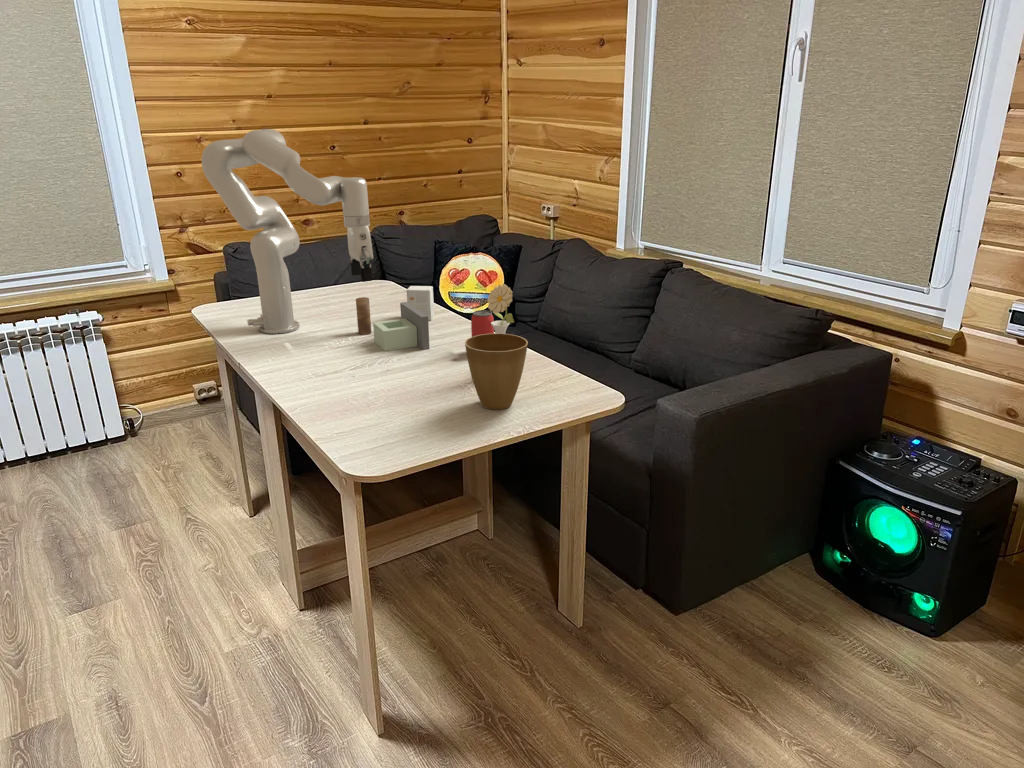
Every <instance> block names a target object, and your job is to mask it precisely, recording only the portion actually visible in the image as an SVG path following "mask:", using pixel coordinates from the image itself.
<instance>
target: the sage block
mask: <svg viewBox="0 0 1024 768" xmlns="http://www.w3.org/2000/svg"><path fill="white" fill-rule="evenodd" d="M372 326H373V328H372V329H373V339H374V343H375V344H376V345H377V346H378V347H380V348H381V349H382V350H383V351H385V352H387V351H388V352H389V351H395V350H403V349H408V348H409V349H410V348H414V347H419V346H418V344H417V327H416V326H415V325H414V324H412V323H411V322H409V321H408V320H407V319H405V318H403V319H401V318H397V319H390V320H384V321H383V320H381V321H375V322H374V321H373V323H372Z"/></svg>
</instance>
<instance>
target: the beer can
mask: <svg viewBox="0 0 1024 768" xmlns="http://www.w3.org/2000/svg"><path fill="white" fill-rule="evenodd" d="M494 319H495V318H494V315H493V311H490V310H485V309H484V310H483V309H481V310H475V311H473V312H472V316H471V321H470V324H471V325H470V327H471V328H470V329H471V330H470V331H471V332H470V333H471V337H473V336H477V335H482V334H494V333H495V330H494V328H493V326H492V325H491V322H493V321H495V320H494Z"/></svg>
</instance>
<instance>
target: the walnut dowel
mask: <svg viewBox="0 0 1024 768" xmlns="http://www.w3.org/2000/svg"><path fill="white" fill-rule="evenodd" d="M355 308H356V319H357V330H358V331H357V332H358V333H357V334H358V335H361V336H368V335H370V334H372V323H371V322H372V321H371V309H370V298H369V297H364V296H362V297H357V298H355Z"/></svg>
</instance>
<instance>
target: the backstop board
mask: <svg viewBox="0 0 1024 768" xmlns="http://www.w3.org/2000/svg"><path fill="white" fill-rule="evenodd" d="M399 305H400V319H403V318H405V319H407V320H408V321H409V322H411V323H412V324H414V325H415V326H416V327H417V344H418V346H417V347H419V348H420V349H421V350H423V351H424V350H425V351H427V350H430V327H429V326H430V325H429V320H428V316H427V315H425V314H424V313H422V312H421V311H419V310H418V309H416V308H415V307H413V306H412V305H410V304H409V303H407V301H402V302H400V303H399Z"/></svg>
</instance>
